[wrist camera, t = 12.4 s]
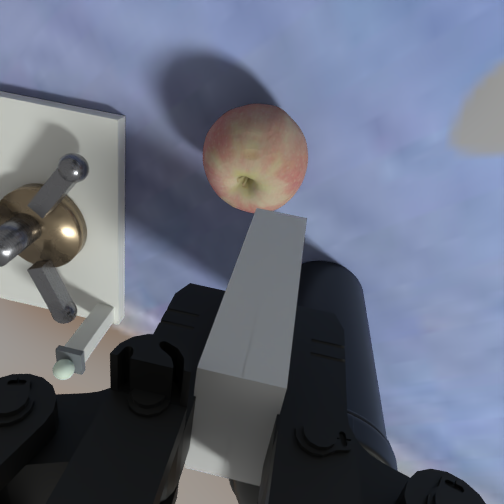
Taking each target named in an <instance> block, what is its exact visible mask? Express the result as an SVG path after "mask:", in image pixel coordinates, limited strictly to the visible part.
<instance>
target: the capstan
mask: <svg viewBox="0 0 504 504" xmlns="http://www.w3.org/2000/svg"><path fill="white" fill-rule="evenodd" d="M88 173H89V165H88V162H87V161H86V159H85V158H84V157H83V156H81V155H79V154H77V153H68V154H65V155H63V156H62V157H61V158H60V160H59V161H58V165H57V169H56V170H55V171H54V172H53V174H52V175H51V176H50V178H49V179H48V180H47V181H46V183H45V184H38V183H31V184H26V185H23V186H21V187H19V188H17V189H15V190H14V191H12V192H10V193H8V194H7V195H6V196H4V197H3V198H2V200H1V201H0V267H2V266H4V265H6V264H7V263H8V262H10V261H11V260H12V259H13V258H15V257H16V256H17V255H19V256H20V257H21V258H23V259H24V260H26V261H28V262H30V263H32V264H33V265H32V266H31V267H30V268H29V269H27V271H28V273H29V275H30V276H31V278H32V280H33V282H34V283H35V285H36V287H37V289H38V291H39V292H40V294H41V296H42V298H43V300H44V301H45V303H46V305H47V307H48V309H49V310H50V312H51V315H52V317H53V319H54V320H55V321H57V322H58V323H63V324H64V323H69V322H71V321H72V320H74V318H75V317H76V315H77V306H76V305H75V303H74V302H73V300H72V298H71V296H70V295H69V293H68V291H67V289H66V287H65V285H64V283H63V281H62V279H61V277H60V275H59V274H58V272H57V270H56V268H55V267H60V266H63V265H65V264H67V263H69V262H70V261H71V260H72V259H73V258H74V257H75V256H76V255H77V254H78V253H79V252H80V251H81V250H82V249H83V247H84V245H85V243H86V239H87V227H86V223H85V220H84V217H83V215H82V213H81V211H80V210H79V208H78V207H77V206H76V204H75V203H74V202H73V201H72V200H71V199H70V198H69V197H68V196H66V195H67V194H68V192H69V191H70V190H71V189H72V188H73V187H74V185H75V184H76V183H78V182H81V181H83V180H84V179H85V178H86V177H87V175H88Z"/></svg>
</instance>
